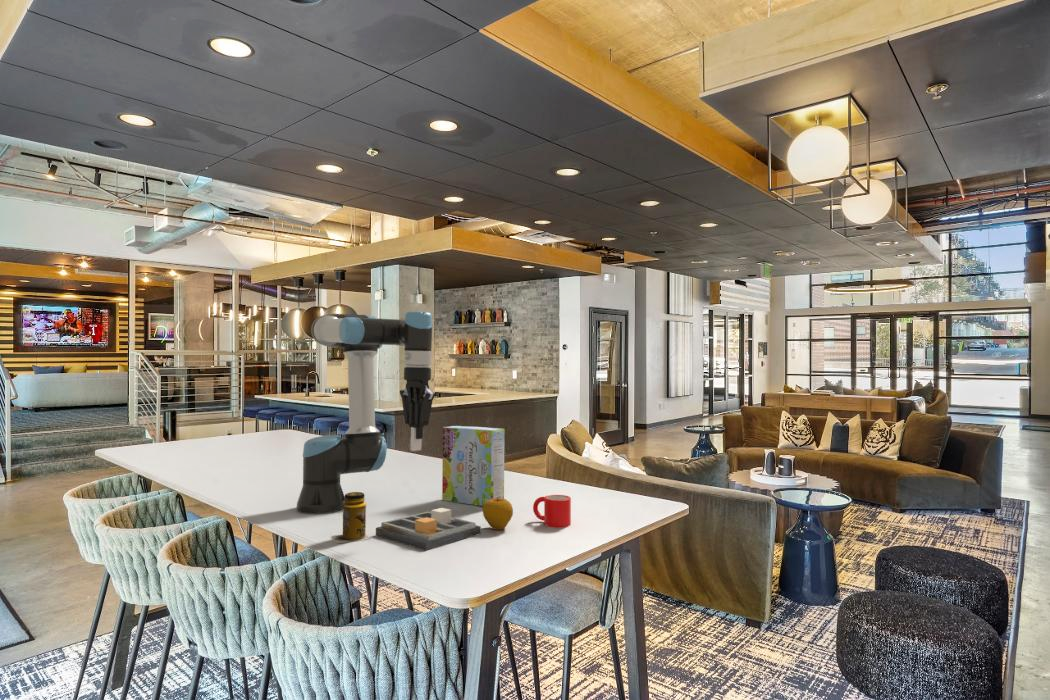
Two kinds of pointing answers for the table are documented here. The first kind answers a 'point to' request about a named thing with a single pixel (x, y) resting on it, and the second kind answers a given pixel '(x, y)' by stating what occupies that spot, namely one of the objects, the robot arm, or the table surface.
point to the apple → (497, 513)
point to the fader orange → (426, 525)
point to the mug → (554, 510)
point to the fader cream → (441, 515)
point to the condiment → (353, 518)
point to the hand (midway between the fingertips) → (415, 450)
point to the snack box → (473, 464)
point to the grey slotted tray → (406, 534)
